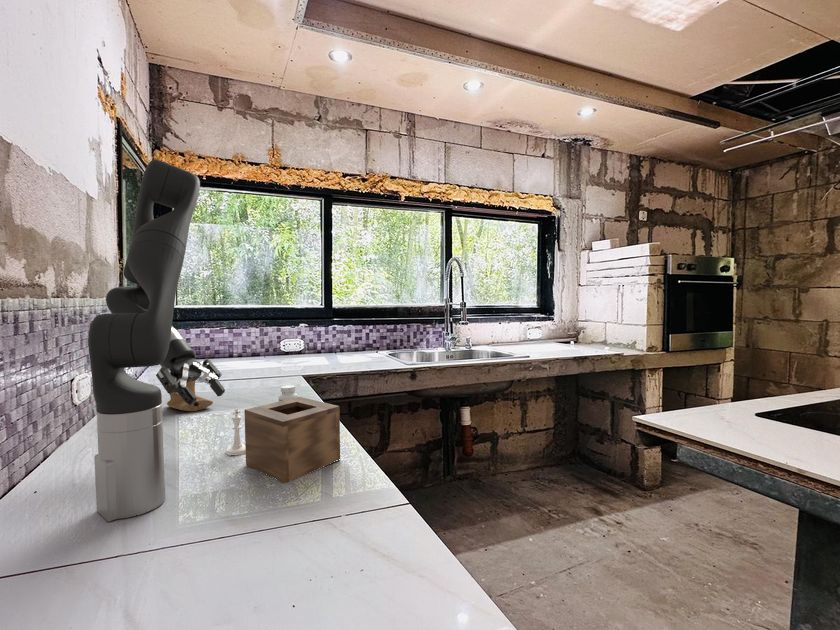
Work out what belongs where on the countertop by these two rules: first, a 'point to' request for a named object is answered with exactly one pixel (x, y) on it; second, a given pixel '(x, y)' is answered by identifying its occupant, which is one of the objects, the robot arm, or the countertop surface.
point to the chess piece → (236, 437)
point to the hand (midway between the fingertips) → (208, 398)
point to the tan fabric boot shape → (180, 404)
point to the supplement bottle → (287, 392)
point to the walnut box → (292, 437)
